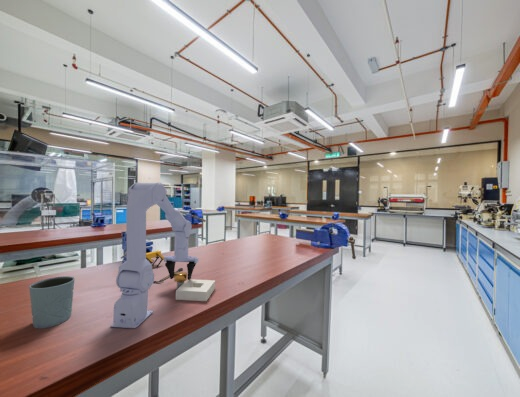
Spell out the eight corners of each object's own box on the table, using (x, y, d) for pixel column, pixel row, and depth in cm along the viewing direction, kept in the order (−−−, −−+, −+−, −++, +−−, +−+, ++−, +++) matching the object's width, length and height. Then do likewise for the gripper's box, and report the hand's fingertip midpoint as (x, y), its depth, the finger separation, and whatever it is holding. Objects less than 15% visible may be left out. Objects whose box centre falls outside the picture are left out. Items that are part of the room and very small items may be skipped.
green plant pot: (75, 320, 67) (77, 281, 68) (28, 335, 60) (29, 291, 60) (70, 309, 74) (71, 273, 74) (27, 320, 67) (28, 281, 67)
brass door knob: (183, 290, 91) (184, 276, 91) (171, 289, 92) (172, 275, 92) (188, 285, 97) (189, 272, 97) (177, 285, 97) (177, 271, 97)
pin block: (206, 301, 82) (206, 292, 82) (175, 299, 83) (175, 290, 83) (215, 288, 94) (215, 280, 94) (188, 287, 95) (188, 279, 95)
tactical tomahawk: (164, 287, 97) (164, 284, 97) (152, 284, 99) (152, 281, 99) (190, 271, 117) (190, 269, 117) (180, 269, 119) (180, 267, 119)
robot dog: (127, 272, 112) (128, 246, 112) (157, 263, 128) (158, 241, 129) (134, 274, 110) (135, 247, 110) (164, 265, 126) (165, 242, 126)
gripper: (201, 245, 98) (200, 276, 98) (169, 244, 99) (169, 274, 99) (195, 249, 91) (194, 282, 91) (161, 248, 92) (160, 280, 92)
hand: (180, 278), depth 94 cm, fingers open, 7 cm apart
